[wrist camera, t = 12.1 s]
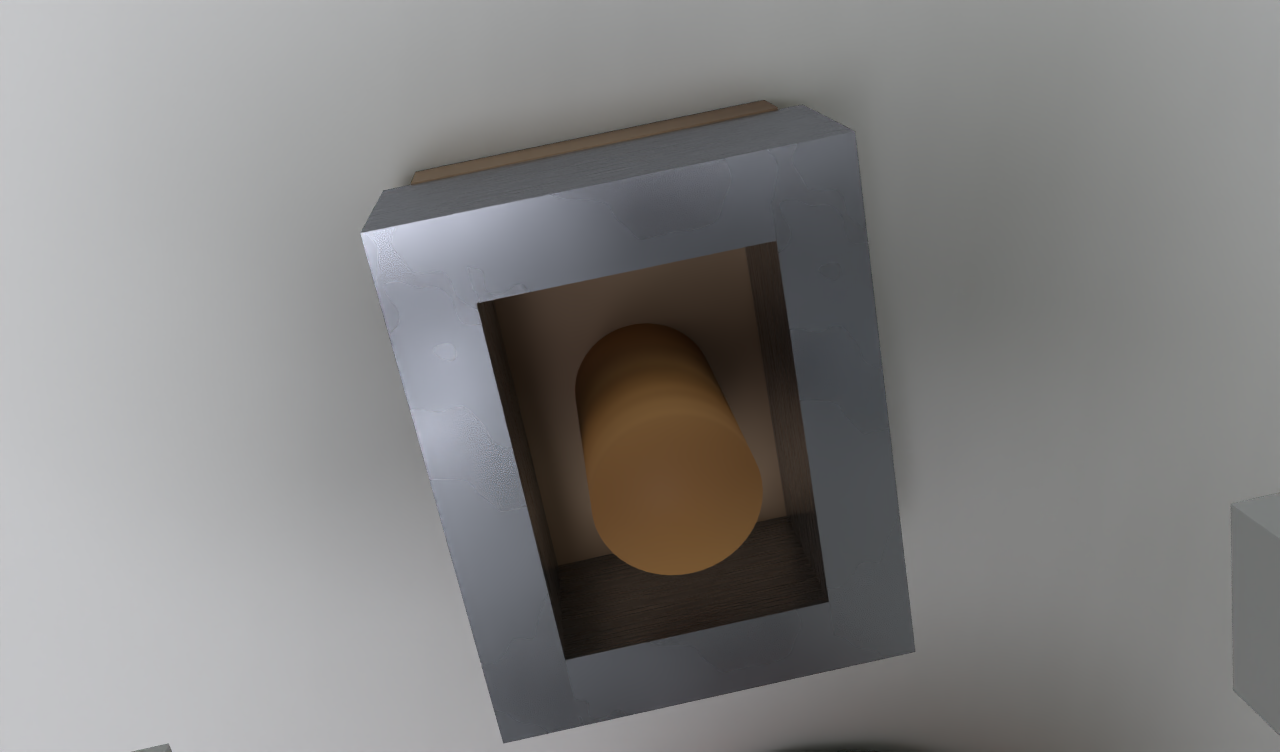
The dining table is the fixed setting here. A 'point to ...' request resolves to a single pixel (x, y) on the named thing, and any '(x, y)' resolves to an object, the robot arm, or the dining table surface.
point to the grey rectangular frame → (797, 391)
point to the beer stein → (857, 751)
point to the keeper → (644, 396)
